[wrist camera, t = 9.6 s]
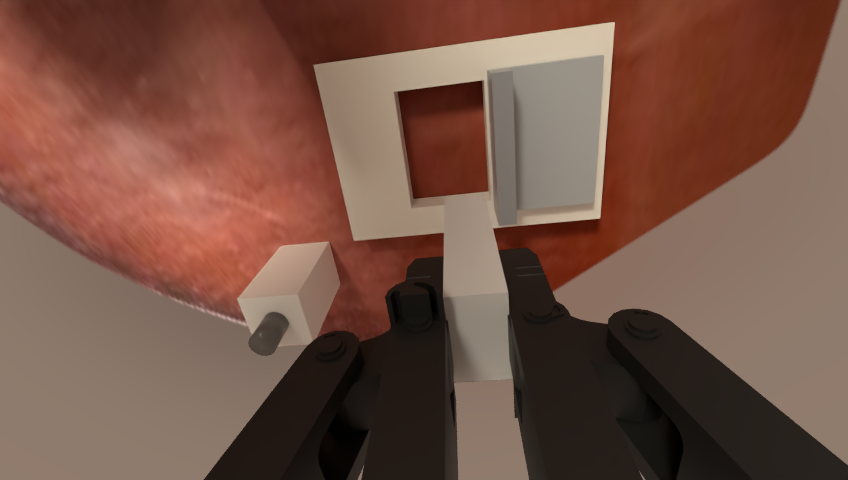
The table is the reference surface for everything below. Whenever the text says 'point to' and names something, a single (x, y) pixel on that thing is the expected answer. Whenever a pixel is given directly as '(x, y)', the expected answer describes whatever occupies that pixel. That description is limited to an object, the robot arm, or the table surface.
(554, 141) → the shutter
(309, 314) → the plug
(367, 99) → the socket plate
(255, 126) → the table surface
